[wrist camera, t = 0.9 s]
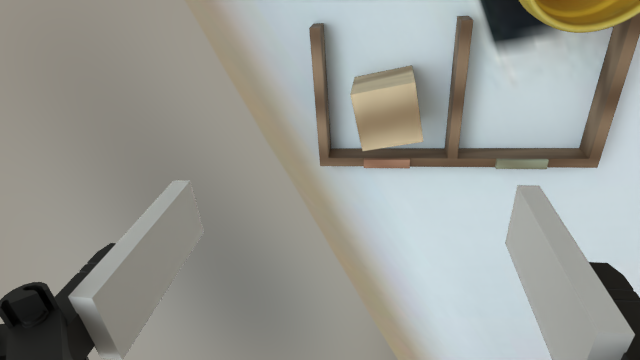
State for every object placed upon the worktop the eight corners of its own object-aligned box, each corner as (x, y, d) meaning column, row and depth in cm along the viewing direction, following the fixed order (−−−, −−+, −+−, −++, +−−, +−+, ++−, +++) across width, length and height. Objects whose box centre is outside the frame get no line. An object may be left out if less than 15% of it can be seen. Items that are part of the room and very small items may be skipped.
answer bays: (313, 23, 40) (308, 28, 38) (631, 7, 36) (649, 11, 33) (323, 156, 48) (319, 167, 45) (586, 156, 43) (599, 169, 41)
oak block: (354, 76, 42) (350, 94, 37) (411, 65, 41) (415, 82, 36) (365, 128, 45) (362, 151, 40) (418, 118, 44) (423, 141, 39)
